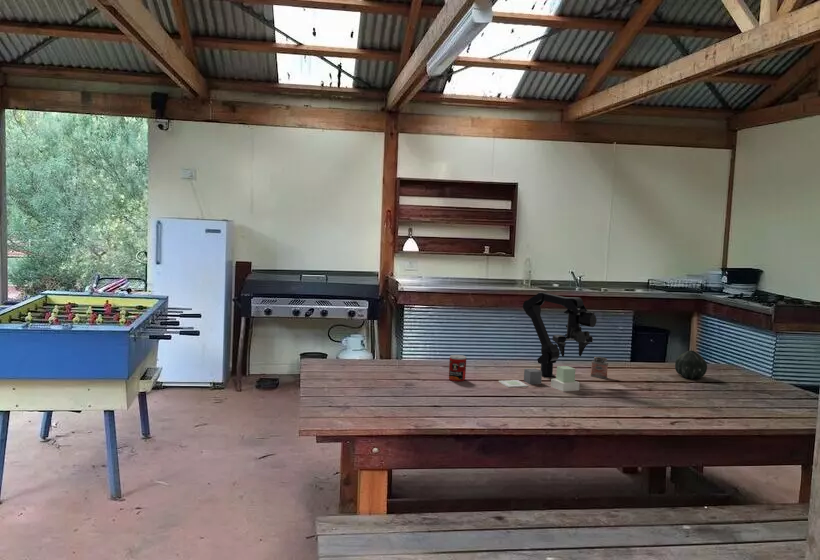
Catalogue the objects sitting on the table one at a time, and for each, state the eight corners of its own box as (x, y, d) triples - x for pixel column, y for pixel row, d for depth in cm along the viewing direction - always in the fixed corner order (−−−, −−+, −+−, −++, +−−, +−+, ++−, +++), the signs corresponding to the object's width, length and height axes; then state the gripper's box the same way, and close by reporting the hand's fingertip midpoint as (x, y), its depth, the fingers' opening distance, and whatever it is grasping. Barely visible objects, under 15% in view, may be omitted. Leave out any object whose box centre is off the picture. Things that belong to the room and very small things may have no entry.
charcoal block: (523, 381, 302) (524, 368, 301) (535, 380, 304) (535, 368, 303) (529, 384, 296) (530, 371, 296) (541, 384, 298) (542, 371, 297)
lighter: (589, 376, 318) (591, 356, 317) (591, 375, 321) (592, 355, 320) (606, 378, 314) (607, 358, 313) (607, 377, 317) (609, 357, 316)
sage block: (556, 379, 293) (556, 366, 293) (567, 378, 295) (568, 365, 295) (562, 382, 288) (563, 369, 287) (574, 382, 289) (575, 368, 289)
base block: (550, 387, 294) (551, 378, 294) (566, 386, 298) (567, 377, 297) (562, 392, 286) (563, 383, 285) (579, 391, 289) (579, 382, 289)
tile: (498, 381, 298) (498, 380, 298) (517, 381, 301) (518, 379, 301) (508, 387, 288) (508, 385, 288) (528, 386, 291) (528, 385, 291)
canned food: (446, 380, 297) (447, 356, 296) (451, 376, 304) (452, 353, 303) (462, 382, 294) (463, 358, 293) (467, 378, 301) (468, 355, 300)
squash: (695, 362, 336) (682, 342, 331) (717, 370, 321) (704, 349, 317) (677, 381, 333) (663, 360, 329) (698, 389, 319) (684, 368, 315)
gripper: (565, 326, 293) (562, 360, 294) (600, 326, 298) (598, 359, 300) (552, 322, 304) (550, 355, 305) (587, 322, 309) (585, 354, 310)
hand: (571, 356), depth 305 cm, fingers open, 9 cm apart
